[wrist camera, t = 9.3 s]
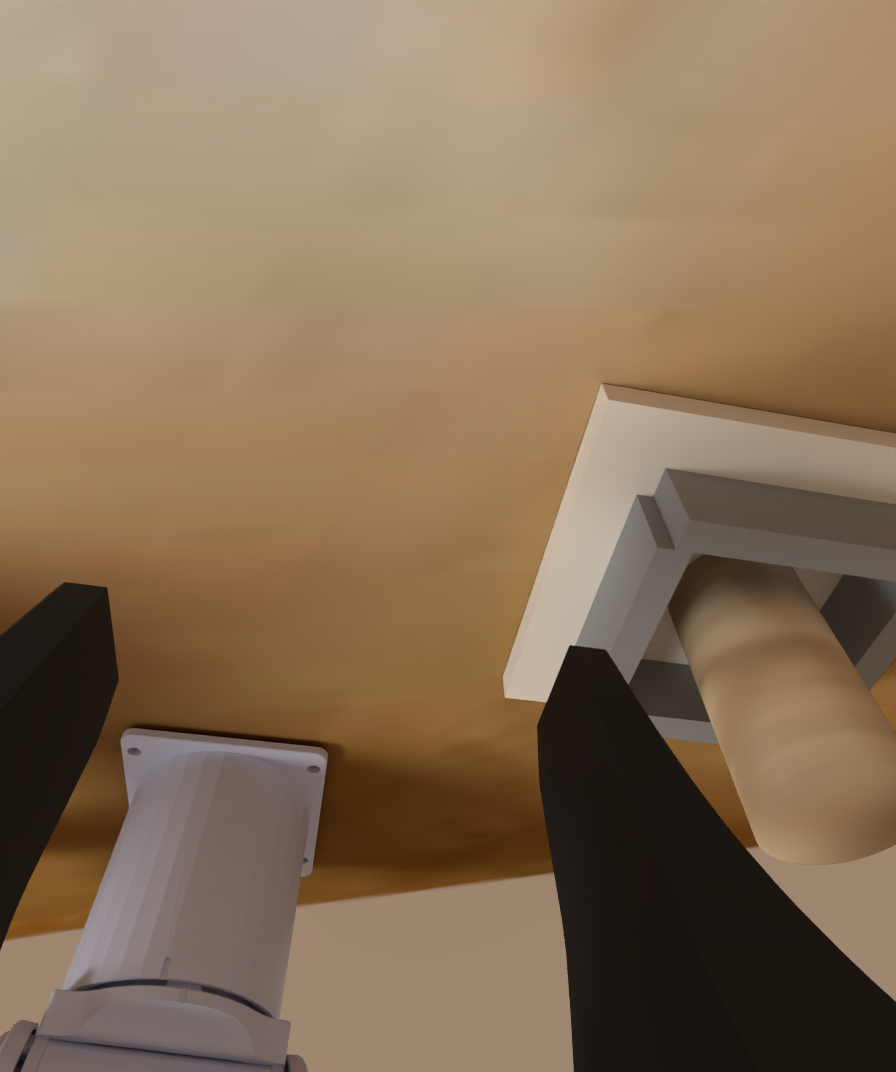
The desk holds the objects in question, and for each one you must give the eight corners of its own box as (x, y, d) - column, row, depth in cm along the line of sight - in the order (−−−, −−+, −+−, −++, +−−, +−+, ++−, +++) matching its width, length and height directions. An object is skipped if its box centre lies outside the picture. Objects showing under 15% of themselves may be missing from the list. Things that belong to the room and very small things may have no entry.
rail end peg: (761, 643, 25) (876, 870, 18) (650, 630, 24) (727, 858, 18) (816, 552, 23) (969, 776, 16) (694, 536, 22) (802, 761, 16)
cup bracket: (801, 711, 29) (840, 789, 26) (503, 676, 27) (510, 755, 24) (990, 449, 22) (1073, 518, 19) (601, 383, 20) (628, 447, 17)
